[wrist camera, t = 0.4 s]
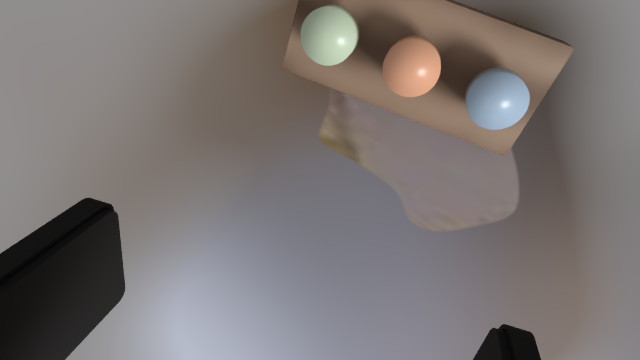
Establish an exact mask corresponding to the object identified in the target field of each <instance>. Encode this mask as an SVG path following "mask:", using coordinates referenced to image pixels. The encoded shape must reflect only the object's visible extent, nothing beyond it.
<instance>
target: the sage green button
mask: <svg viewBox="0 0 640 360" xmlns="http://www.w3.org/2000/svg"><path fill="white" fill-rule="evenodd" d="M358 40H359V26H358V23H357V20H356V18H355V17H354V15H353V14H352V13H351V12H350V11H349V10H348V9H346V8H345V7H343V6H340V5H335V4H331V5H326V6H323V7H320V8H318V9H316V10H314V11H312V12H311V13H310V14H309V15H308V16H307V17H306V19H305V20H304V22H303V24H302V27H301V43H302V46H303V49H304V51H305V53H306V54H307V55H308V56H309V58H310V59H312V60H313V61H314V62H316V63H318V64H321V65H325V66H332V65H336V64H339V63H341V62H343V61H344V60H345V59H346V58H347V57H348V56H349V55H350V54H351V53H352V52H353V51H354V49H355V48H356V46H357V44H358Z"/></svg>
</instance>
